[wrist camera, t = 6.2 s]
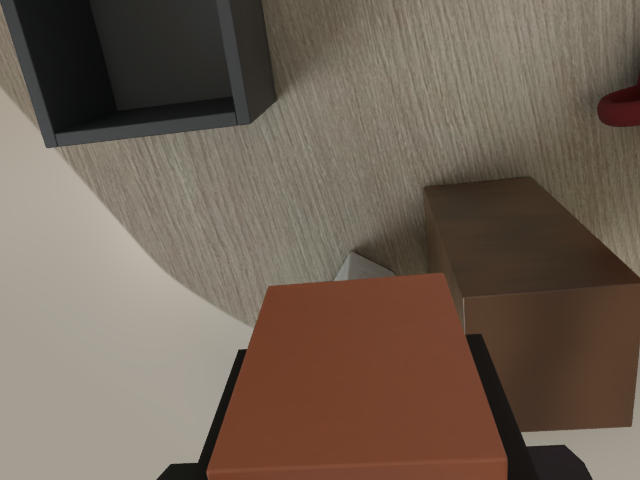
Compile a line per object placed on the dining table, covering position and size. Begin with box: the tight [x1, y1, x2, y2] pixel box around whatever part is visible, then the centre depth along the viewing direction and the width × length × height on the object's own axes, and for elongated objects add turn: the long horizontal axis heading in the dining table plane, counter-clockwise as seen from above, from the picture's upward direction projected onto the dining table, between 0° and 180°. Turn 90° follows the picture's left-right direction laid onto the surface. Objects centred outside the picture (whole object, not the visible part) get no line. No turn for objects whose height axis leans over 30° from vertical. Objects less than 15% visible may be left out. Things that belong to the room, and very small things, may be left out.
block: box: [206, 273, 508, 480], centre depth 13 cm, size 5×5×7 cm
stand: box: [423, 177, 640, 432], centre depth 34 cm, size 8×8×18 cm
